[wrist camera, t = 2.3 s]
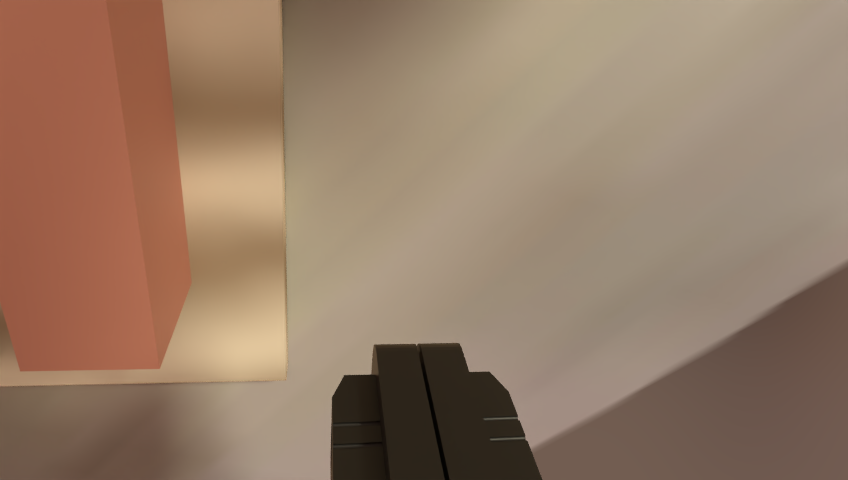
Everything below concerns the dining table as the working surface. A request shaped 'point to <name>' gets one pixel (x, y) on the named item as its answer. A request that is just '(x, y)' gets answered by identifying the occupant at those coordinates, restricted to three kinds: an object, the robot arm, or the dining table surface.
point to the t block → (89, 185)
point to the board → (218, 201)
